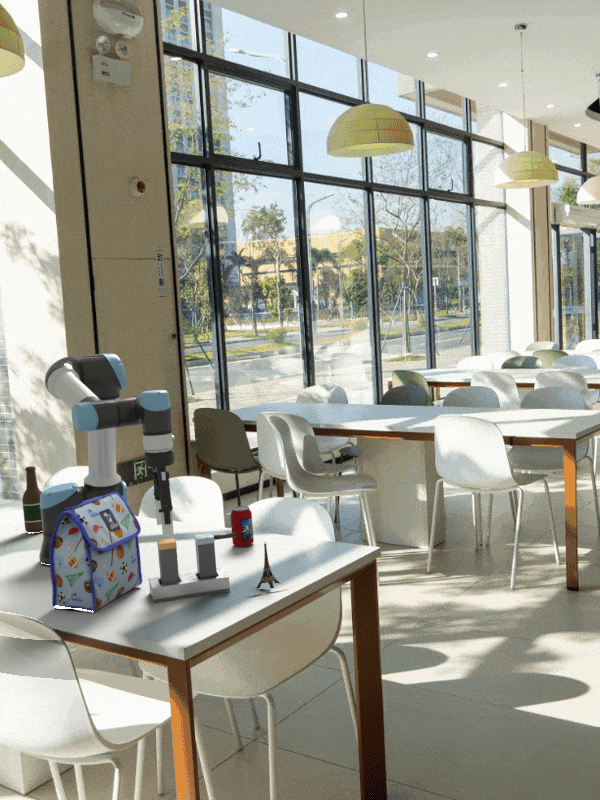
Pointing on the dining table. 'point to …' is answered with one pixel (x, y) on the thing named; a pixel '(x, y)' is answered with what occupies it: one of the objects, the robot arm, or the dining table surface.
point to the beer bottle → (32, 502)
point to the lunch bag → (95, 553)
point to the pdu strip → (195, 575)
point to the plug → (168, 561)
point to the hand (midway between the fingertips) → (165, 530)
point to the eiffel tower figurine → (267, 572)
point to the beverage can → (242, 526)
